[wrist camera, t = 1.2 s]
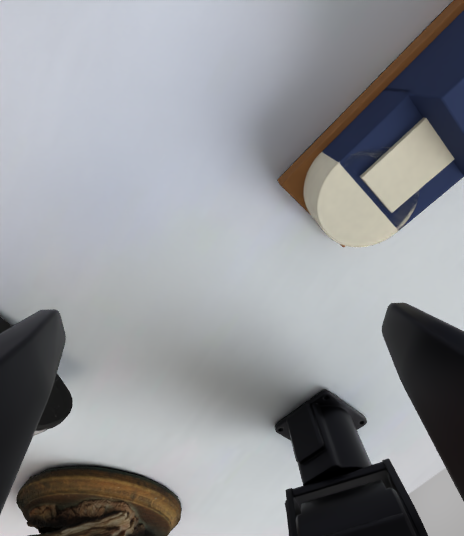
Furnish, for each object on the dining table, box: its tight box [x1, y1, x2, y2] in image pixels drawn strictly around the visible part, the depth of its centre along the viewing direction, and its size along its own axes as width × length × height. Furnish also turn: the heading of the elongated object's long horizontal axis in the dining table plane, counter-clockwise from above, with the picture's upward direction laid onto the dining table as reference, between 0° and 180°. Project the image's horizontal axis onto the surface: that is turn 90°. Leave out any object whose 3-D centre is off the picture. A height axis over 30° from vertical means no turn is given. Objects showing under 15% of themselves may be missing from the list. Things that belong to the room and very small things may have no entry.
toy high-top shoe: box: [277, 0, 464, 247], centre depth 17 cm, size 15×6×7 cm, turn 137°
